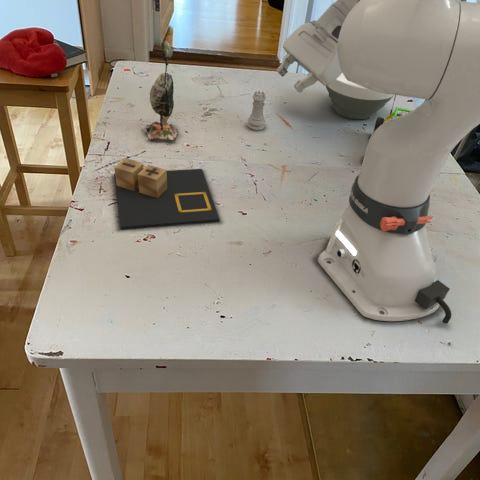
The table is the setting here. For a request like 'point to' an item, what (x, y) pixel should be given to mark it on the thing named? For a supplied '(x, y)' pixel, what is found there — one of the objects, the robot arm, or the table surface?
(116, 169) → the plus minus wooden blocks
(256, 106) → the rook chess piece
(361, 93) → the bowl
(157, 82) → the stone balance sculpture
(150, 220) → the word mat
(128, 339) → the table surface
